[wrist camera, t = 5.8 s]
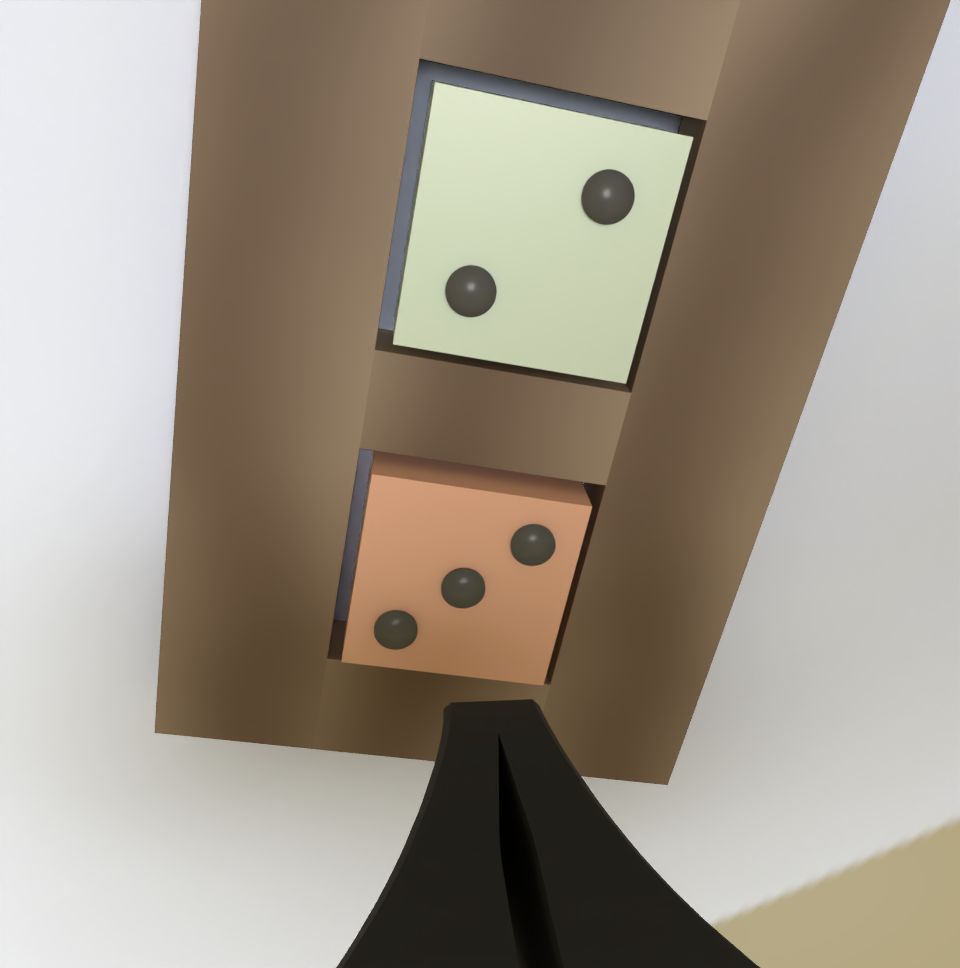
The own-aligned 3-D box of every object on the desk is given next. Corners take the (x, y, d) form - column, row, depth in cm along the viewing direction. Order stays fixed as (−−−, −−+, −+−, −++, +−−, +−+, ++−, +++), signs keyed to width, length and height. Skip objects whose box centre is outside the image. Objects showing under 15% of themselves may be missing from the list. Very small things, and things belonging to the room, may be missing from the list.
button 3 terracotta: (575, 466, 20) (593, 509, 18) (531, 633, 22) (544, 689, 20) (374, 435, 19) (371, 476, 17) (347, 610, 21) (341, 665, 19)
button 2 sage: (662, 129, 17) (695, 137, 15) (604, 353, 19) (627, 385, 17) (431, 80, 16) (435, 82, 14) (394, 316, 18) (392, 346, 16)
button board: (1080, -503, 14) (1154, -566, 12) (651, 742, 23) (667, 784, 22) (275, -783, 12) (258, -893, 11) (170, 690, 21) (154, 732, 20)
